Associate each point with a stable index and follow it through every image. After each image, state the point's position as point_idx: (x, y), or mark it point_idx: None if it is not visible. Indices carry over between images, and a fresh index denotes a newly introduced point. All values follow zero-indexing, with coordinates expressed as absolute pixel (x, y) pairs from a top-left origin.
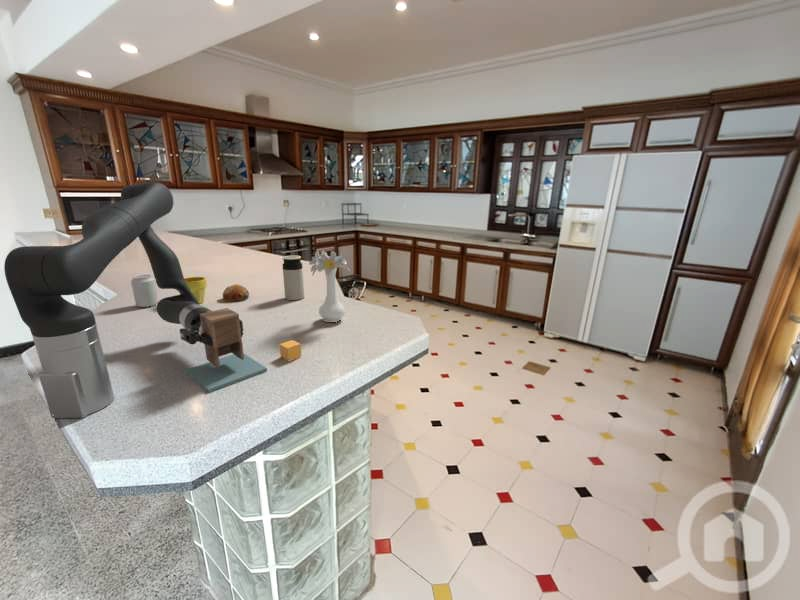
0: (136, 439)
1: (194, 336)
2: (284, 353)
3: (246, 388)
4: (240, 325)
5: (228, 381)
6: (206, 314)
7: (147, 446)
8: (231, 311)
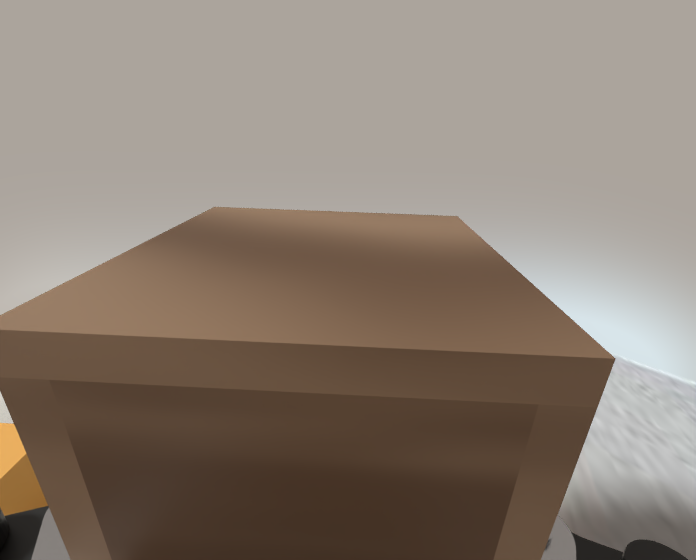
0: (664, 410)
1: (613, 549)
2: (38, 489)
3: None
4: (21, 521)
5: None
6: (470, 289)
7: (618, 376)
8: (176, 237)
